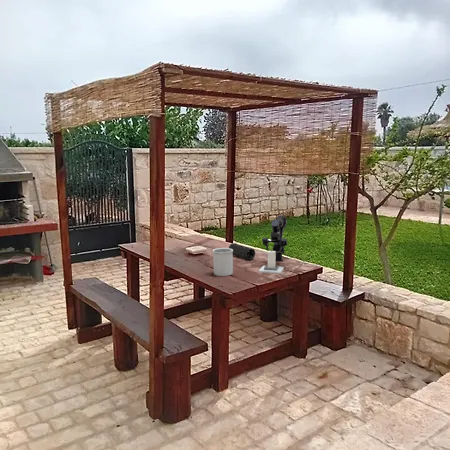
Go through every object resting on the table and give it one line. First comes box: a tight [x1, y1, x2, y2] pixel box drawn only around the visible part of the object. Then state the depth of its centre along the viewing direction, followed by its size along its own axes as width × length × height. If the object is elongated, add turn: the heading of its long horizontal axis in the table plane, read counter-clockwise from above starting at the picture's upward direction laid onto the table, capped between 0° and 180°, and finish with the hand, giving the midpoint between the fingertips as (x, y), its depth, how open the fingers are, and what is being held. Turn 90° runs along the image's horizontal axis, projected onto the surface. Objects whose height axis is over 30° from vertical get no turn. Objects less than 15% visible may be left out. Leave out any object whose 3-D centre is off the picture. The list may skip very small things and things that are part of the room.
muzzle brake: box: [228, 242, 256, 261], centre depth 362 cm, size 10×28×10 cm, turn 32°
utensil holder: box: [212, 247, 234, 277], centre depth 311 cm, size 15×15×18 cm
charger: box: [267, 250, 276, 268], centre depth 318 cm, size 5×5×13 cm
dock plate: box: [258, 264, 285, 275], centre depth 319 cm, size 16×16×3 cm
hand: (273, 250), depth 325 cm, fingers open, 9 cm apart
